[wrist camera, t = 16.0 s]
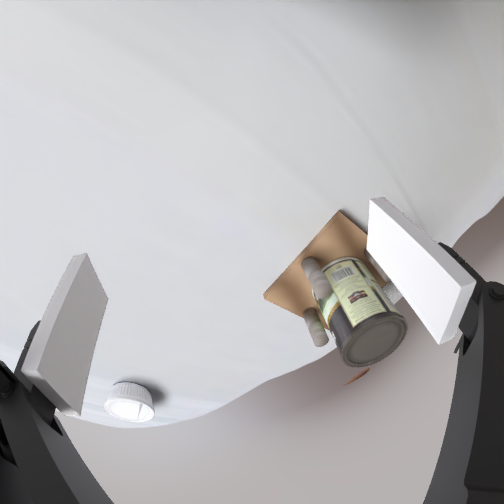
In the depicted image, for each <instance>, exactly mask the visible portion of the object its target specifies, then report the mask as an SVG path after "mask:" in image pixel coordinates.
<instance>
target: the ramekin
mask: <svg viewBox="0 0 504 504" xmlns="http://www.w3.org/2000/svg"><path fill="white" fill-rule="evenodd" d="M104 407H105V409H106V411H107V412H108V413H109V414H111V415H112V416H114V417H116V418H119V419H122V420H125V421H130V422H143V421H147V420H149V419H151V418H152V417H153V416H154V413H155V411H154V408H153V403H152V397H151V394H150V393H149V391H148V390H147V389H146V388H144V387H143V386H141V385H138V384H135V383H130V382H121V383H117V384H115V385H114V386H112V387H111V389H110V391H109V394H108V397H107V399H106V400H105V404H104Z"/></svg>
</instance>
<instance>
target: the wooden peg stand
mask: <svg viewBox="0 0 504 504" xmlns="http://www.w3.org/2000/svg"><path fill="white" fill-rule="evenodd" d="M367 237H368V235H367V234H366V233H365V232H364V231H363V230H361V229H360V228H359V227H358V226H357V225H355V224H354V223H353V222H352V221H351V220H350V219H348V218H347V217H346V216H345V215H344V214H342V213H341V212H340V211H338V212H337V213H336V214H335V215H334V216H333V217H332V219H331V220H330V221H329V222H328V223H327V224H326V225H325V227H324V228H323V229H322V230H321V231H320V232H319V233H318V234H317V236H316V237H315V238H314V239H313V240H312V241H311V242H310V243H309V245H308V246H307V247H306V248H305V249H304V250H303V251H302V252H301V253H300V255H299V256H298V257H297V258H296V259H295V260H294V261H293V262H292V263H291V264H290V266H289V267H288V268H287V269H286V270H285V271H284V272H283V273H282V274H281V275H280V276H279V278H278V279H277V280H276V281H275V282H274V283H273V284H272V285H271V286H270V287H269V288H268V289H267V291H266V292H265V293H264V294H263V295H264V299H266V300H268V301H270V302H272V303H274V304H276V305H278V306H280V307H282V308H284V309H286V310H288V311H290V312H292V313H294V314H296V315H298V316H300V317H302V318H304V319H305V321H306V324H307V326H308V329H309V332H310V334H311V337H312V339H313V342H314V344H315V346H317V347H321V346H324V345H326V344H327V343H328V341H329V338H328V336H327V334H326V332H325V329H324V328H326V329H328V330H329V327H328V325H327V323H326V321H325V319H324V317H323V315H322V312H321V310H320V308H319V306H318V304H317V302H316V300H315V299H314V297H313V294H312V289H313V291H314V293H315V295H316V297H317V298H319V299H323V298H326V297H328V296H329V295H330V294H331V292H332V288H331V286H330V284H329V282H328V280H327V279H326V277H325V275H324V273H323V272H322V270H321V269H322V268H323V267H324V266H326V265H327V264H328V263H330V262H332V261H334V260H336V259H339V258H343V257H354V258H357V259H359V260H361V261H362V262H363V263H364V264H365V266H366V267H367V269H368V270H369V272H370V273H371V274H372V276H373V277H374V278H375V280H376V281H377V282H378V284H379V285H380V287H381V288H383V287H384V286H385V285H386V284H387V283H388V282H391V279H390V278H389V277H388V275H387V274H386V273H385V272H384V270H383V269H382V268H381V267H380V265H379V264H378V263H377V262H376V260H375V259H374V258H373V257H372V255H371V254H370V253H369V252H368V251H367Z"/></svg>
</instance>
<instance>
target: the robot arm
mask: <svg viewBox="0 0 504 504" xmlns="http://www.w3.org/2000/svg"><path fill="white" fill-rule="evenodd" d="M367 251H368V252H369V253H370V254H371V255H372V257H373V258H374V259H375V260H376V262H377V263H378V264H379V265H380V267H381V268H382V269H383V270H384V272H385V273H386V274H387V275H388V277H389V278H390V279H391V281H392V282H393V283H394V284H395V286H396V287H397V288H398V290H399V291H400V292H401V294H402V295H403V296H404V298H405V299H406V300H407V302H408V303H409V304H410V305H411V307H412V308H413V310H414V311H415V312H416V314H417V315H418V316H419V318H420V319H421V321H422V322H423V323H424V325H425V326H426V328H427V329H428V330H429V332H430V333H431V334H432V336H433V338H434V339H435V340H436V342H437V343H438V345H439V344H442V343H444V342H446V341H449V340H451V339H453V338H454V336H455V334H456V331H457V329H458V327H459V328H460V330H461V331H462V332H463V334H462V336H461V338H460V340H459V343H458V344H457V347H456V348H455V351H454V353H457V351H458V349H459V348H460V349H459V358H458V367H457V374H456V381H455V388H454V394H453V399H452V404H451V409H450V414H449V419H448V424H447V428H446V432H445V436H444V440H443V444H442V448H441V451H440V455H439V459H438V462H437V465H436V468H435V472H434V475H433V478H432V481H431V484H430V486H429V490H428V492H427V495H426V497H425V500H424V502H423V504H504V285H502V284H500V283H498V282H492V281H490V282H486V281H484V279H483V278H482V277H481V276H480V275H479V274H478V273H477V272H476V271H475V270H474V269H473V268H472V267H471V266H470V265H469V264H468V263H465V260H463V259H462V258H461V257H459V255H458V254H457V253H456V252H455V251H454V250H453V249H452V248H450V247H448V246H447V245H445V244H443V243H441V242H440V243H437V242H436V241H434V240H433V239H432V238H431V237H430V236H429V235H428V234H427V233H426V232H424V231H423V230H422V229H421V228H420V227H419V226H418V225H417V224H415V223H414V222H413V221H412V220H411V219H410V218H408V217H407V216H406V215H405V214H404V213H402V212H401V211H400V210H399V209H398V208H396V207H395V206H394V205H393V204H392V203H390V202H389V201H388V200H387V199H385V198H384V197H381V198H375V199H370V207H369V223H368V237H367ZM107 302H108V297H107V295H106V293H105V291H104V289H103V287H102V285H101V283H100V281H99V279H98V277H97V275H96V272H95V270H94V268H93V266H92V264H91V261H90V259H89V257H88V255H87V253H85V254H80V255H76V256H73V258H72V260H71V261H70V263H69V265H68V267H67V269H66V271H65V273H64V274H63V276H62V278H61V280H60V282H59V284H58V286H57V288H56V290H55V292H54V294H53V296H52V298H51V300H50V302H49V304H48V307H47V309H46V311H45V313H44V315H43V317H42V320H41V321H38V322H37V324H36V325H35V326H34V327H33V329H32V330H31V332H30V334H29V336H28V339H27V342H26V344H25V346H24V349H23V351H22V353H21V356H20V358H19V361H18V363H17V366H16V369H15V371H14V374H13V372H12V371H11V370H10V369H9V368H8V367H7V366H6V364H5V363H4V362H3V361H0V504H114V503H113V502H112V501H111V499H110V498H109V497H108V496H107V494H106V493H105V492H104V490H103V489H102V488H101V486H100V485H99V483H98V482H97V481H96V479H95V478H94V476H93V475H92V473H91V472H90V470H89V469H88V467H87V466H86V464H85V463H84V461H83V460H82V458H81V457H80V455H79V454H78V452H77V450H76V449H75V447H74V445H73V444H72V442H71V440H70V439H69V437H68V435H67V434H66V432H65V430H64V428H63V426H62V425H61V423H60V421H59V420H58V418H57V417H56V416H55V415H54V413H55V409H56V408H57V409H58V410H59V411H60V412H61V413H62V414H63V415H64V416H80V415H81V410H82V404H83V399H84V394H85V389H86V384H87V379H88V375H89V370H90V366H91V362H92V357H93V353H94V349H95V345H96V341H97V337H98V334H99V330H100V326H101V323H102V319H103V316H104V312H105V309H106V305H107Z"/></svg>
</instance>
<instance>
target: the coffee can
mask: <svg viewBox="0 0 504 504" xmlns="http://www.w3.org/2000/svg"><path fill="white" fill-rule="evenodd" d="M321 270H322V272H323V273H324V275H325V277H326V279H327V280H328V282H329V284H330V286H331V288H332V292H331V294H330V295H329V296H328V297H326V298H323V299H319V298H317V297H316V295H315V293H314V291H313V289H312V294H313V297H314V299H315V300H316V302H317V304H318V306H319V308H320V310H321V312H322V315H323V317H324V319H325V321H326V323H327V325H328V327H329V330H330V332H331V334H332V336H333V338H334V341H335V343H336V345H337V347H338V349H339V352H340V355H341V359H342V361H343V362H344V363H345V364H346V365H348V366H351V367H364V366H368V365H372V364H374V363H377V362H378V361H381V360H382V359H384V358H385V357H387V356H388V355H390V354H391V353H392V352H393V351H394V350H396V349H397V348H398V346H399V345H400V344H401V343H402V341H403V340H404V338H405V336H406V334H407V330H408V325H407V322H406V320H405V319H404V318H403V316H401V315H400V313H399V312H398V310H397V309H396V307H395V306H394V305H393V303H392V302H391V300H390V299H389V298H388V296H387V295H386V293H385V292H384V291H383V289H382V288H381V287H380V285H379V284H378V282H377V281H376V280H375V278H374V277H373V276H372V274H371V273H370V272H369V270H368V269H367V267H366V266H365V264H364V263H363V262H362V261H361V260H359V259H357V258H354V257H343V258H339V259H336V260H334V261H332V262H330V263H328V264H327V265H326V266H324V267H323V268H322V269H321Z"/></svg>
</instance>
